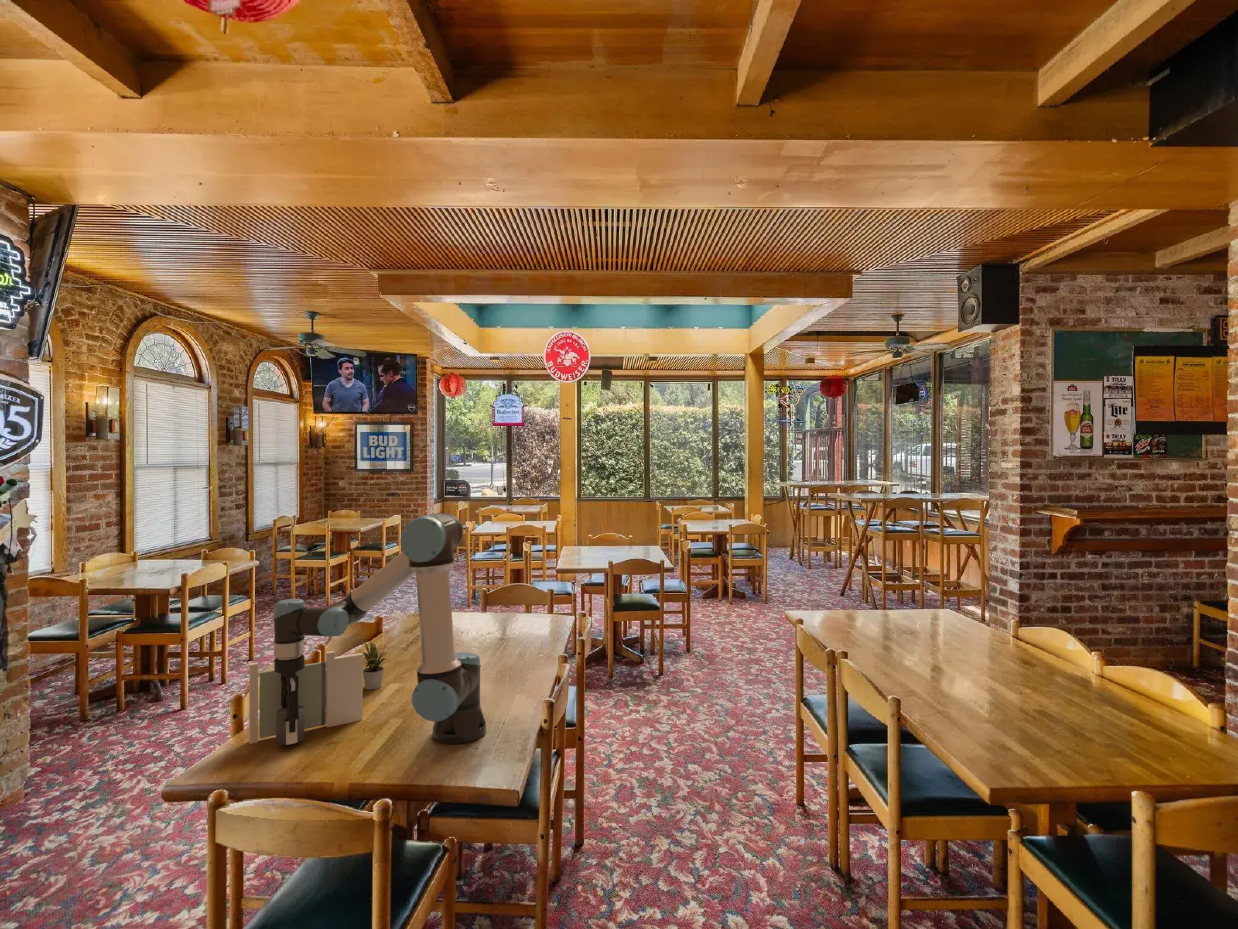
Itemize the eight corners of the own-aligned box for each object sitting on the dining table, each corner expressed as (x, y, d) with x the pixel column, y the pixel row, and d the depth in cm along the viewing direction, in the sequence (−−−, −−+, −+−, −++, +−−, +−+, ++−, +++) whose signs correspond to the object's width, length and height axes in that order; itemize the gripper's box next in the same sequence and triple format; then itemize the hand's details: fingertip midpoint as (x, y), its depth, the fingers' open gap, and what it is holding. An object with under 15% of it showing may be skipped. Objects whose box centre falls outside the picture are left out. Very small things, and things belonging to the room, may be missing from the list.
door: (325, 724, 190) (326, 662, 190) (259, 738, 180) (260, 673, 180) (325, 723, 191) (325, 661, 191) (259, 737, 181) (259, 671, 181)
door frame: (362, 720, 195) (362, 648, 195) (249, 744, 178) (249, 665, 178) (361, 717, 197) (361, 646, 197) (249, 741, 180) (249, 663, 180)
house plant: (339, 688, 223) (339, 641, 223) (374, 677, 234) (374, 633, 234) (364, 697, 215) (364, 648, 215) (399, 685, 226) (399, 639, 226)
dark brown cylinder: (305, 741, 177) (305, 712, 177) (276, 746, 173) (277, 717, 173) (303, 732, 183) (303, 704, 183) (275, 737, 179) (275, 708, 179)
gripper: (310, 662, 172) (310, 748, 172) (298, 645, 188) (298, 723, 188) (279, 667, 167) (279, 755, 167) (269, 649, 184) (269, 729, 184)
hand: (289, 738), depth 178 cm, fingers closed on dark brown cylinder, 7 cm apart
